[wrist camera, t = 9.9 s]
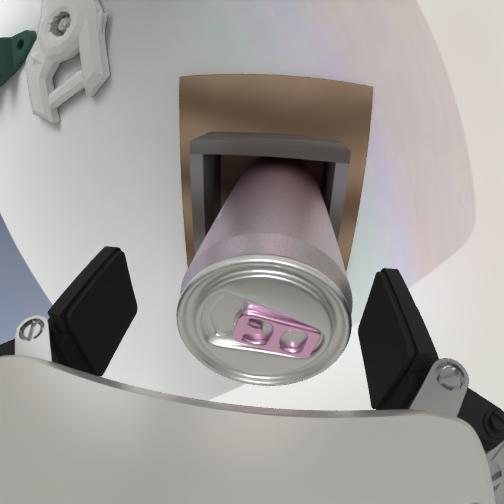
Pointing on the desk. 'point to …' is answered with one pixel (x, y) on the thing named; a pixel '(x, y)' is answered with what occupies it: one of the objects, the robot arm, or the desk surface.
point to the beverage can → (268, 281)
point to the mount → (14, 53)
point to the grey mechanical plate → (67, 53)
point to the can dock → (271, 142)
